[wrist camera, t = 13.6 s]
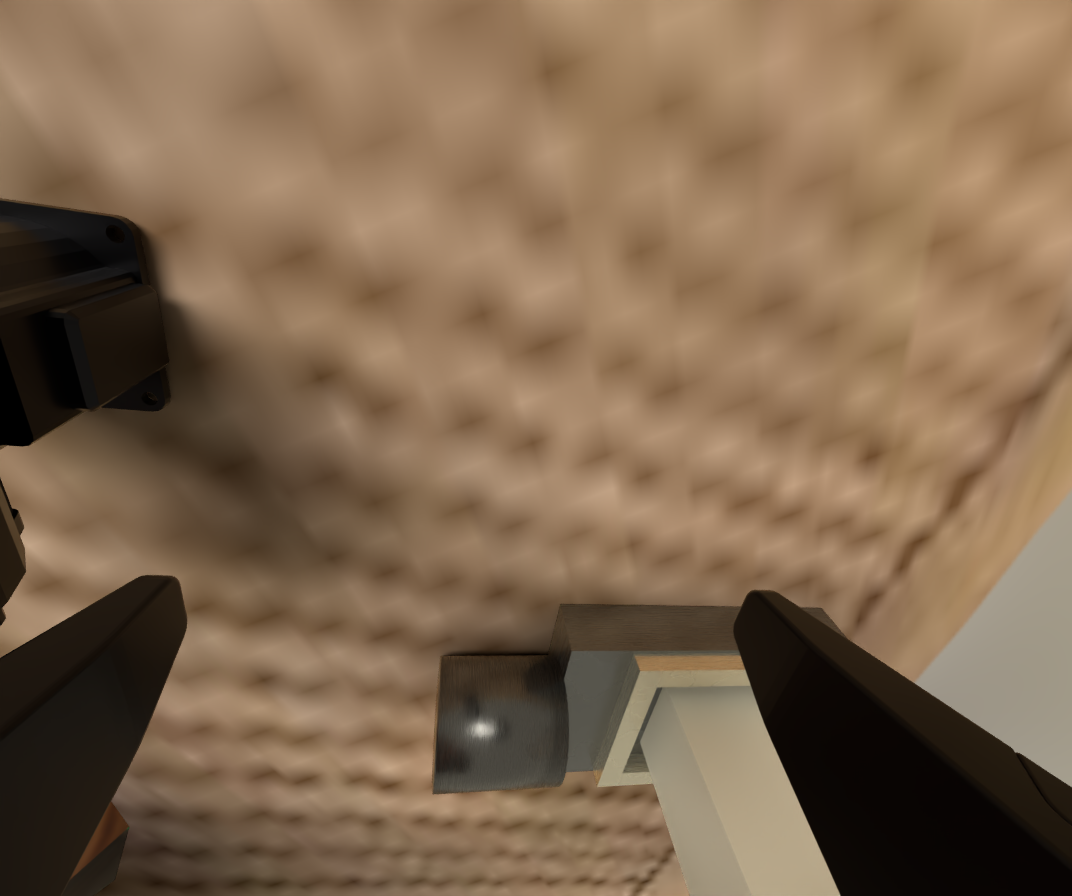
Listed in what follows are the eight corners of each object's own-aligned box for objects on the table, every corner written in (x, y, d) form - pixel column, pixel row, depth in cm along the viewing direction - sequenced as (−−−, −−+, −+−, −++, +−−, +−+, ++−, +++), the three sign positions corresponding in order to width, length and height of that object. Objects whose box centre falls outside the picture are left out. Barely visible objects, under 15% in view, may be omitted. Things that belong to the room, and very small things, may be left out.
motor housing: (432, 726, 30) (427, 843, 24) (445, 602, 25) (442, 713, 20) (760, 715, 34) (815, 813, 29) (821, 608, 29) (900, 700, 24)
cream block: (639, 741, 28) (721, 995, 19) (664, 683, 26) (769, 939, 17) (750, 737, 29) (873, 971, 21) (782, 681, 27) (935, 917, 18)
